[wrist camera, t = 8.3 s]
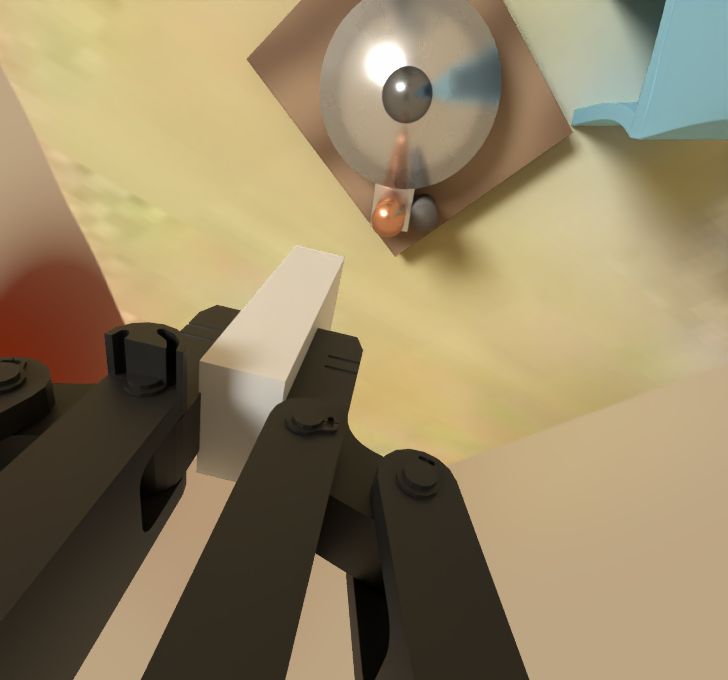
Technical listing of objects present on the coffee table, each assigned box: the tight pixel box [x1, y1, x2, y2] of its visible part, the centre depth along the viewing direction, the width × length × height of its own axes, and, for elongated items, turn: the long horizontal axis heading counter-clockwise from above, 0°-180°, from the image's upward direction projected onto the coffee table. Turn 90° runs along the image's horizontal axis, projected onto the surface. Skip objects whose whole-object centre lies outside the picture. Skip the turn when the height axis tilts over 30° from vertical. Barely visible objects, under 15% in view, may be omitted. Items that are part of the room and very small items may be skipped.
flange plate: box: [320, 0, 502, 237], centre depth 24 cm, size 12×10×6 cm
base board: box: [247, 0, 573, 257], centre depth 26 cm, size 15×13×5 cm
